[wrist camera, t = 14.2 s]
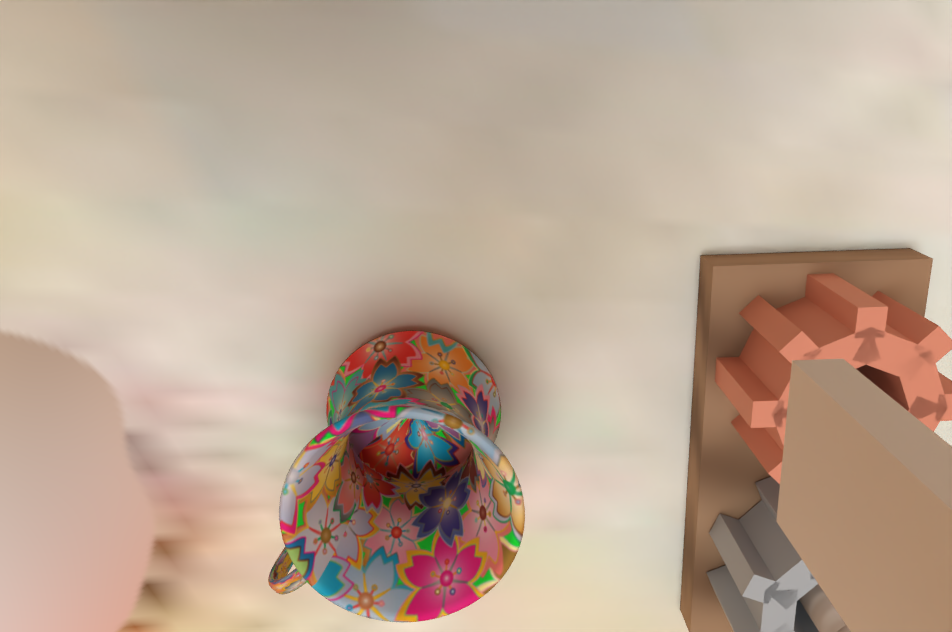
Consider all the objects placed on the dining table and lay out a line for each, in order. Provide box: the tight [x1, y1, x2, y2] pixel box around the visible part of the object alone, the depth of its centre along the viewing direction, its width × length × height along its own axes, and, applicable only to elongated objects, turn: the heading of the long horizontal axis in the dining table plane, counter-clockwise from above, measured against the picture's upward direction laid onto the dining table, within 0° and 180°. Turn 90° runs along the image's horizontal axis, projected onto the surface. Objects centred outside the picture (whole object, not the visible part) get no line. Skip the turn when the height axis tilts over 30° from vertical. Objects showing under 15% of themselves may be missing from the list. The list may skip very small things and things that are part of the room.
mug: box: [268, 331, 525, 622], centre depth 37 cm, size 12×9×11 cm
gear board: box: [680, 248, 933, 632], centre depth 38 cm, size 20×10×10 cm, turn 2°
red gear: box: [715, 273, 952, 484], centre depth 37 cm, size 9×9×5 cm
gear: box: [707, 477, 819, 632], centre depth 40 cm, size 9×9×5 cm
